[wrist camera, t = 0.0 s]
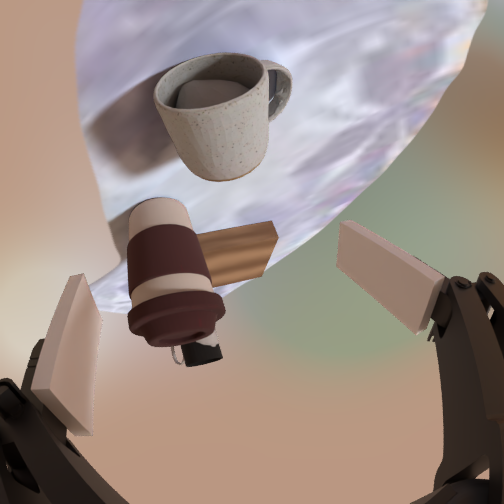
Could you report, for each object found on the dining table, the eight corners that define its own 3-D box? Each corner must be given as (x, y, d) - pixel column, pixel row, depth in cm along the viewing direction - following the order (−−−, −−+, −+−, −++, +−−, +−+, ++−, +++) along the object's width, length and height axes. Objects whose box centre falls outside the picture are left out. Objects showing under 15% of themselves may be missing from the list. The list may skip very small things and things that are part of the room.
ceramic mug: (179, 143, 23) (195, 205, 20) (149, 72, 16) (154, 124, 13) (286, 110, 24) (324, 163, 21) (282, 36, 16) (333, 76, 13)
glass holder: (214, 285, 57) (235, 354, 51) (177, 310, 64) (192, 369, 58) (181, 282, 51) (201, 359, 44) (147, 308, 58) (161, 373, 51)
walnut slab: (177, 238, 37) (181, 257, 36) (271, 220, 41) (278, 237, 40) (184, 278, 49) (188, 293, 48) (256, 262, 53) (261, 276, 52)
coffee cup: (112, 236, 32) (126, 354, 26) (127, 182, 25) (143, 329, 19) (181, 239, 38) (206, 344, 32) (211, 192, 31) (249, 317, 25)
